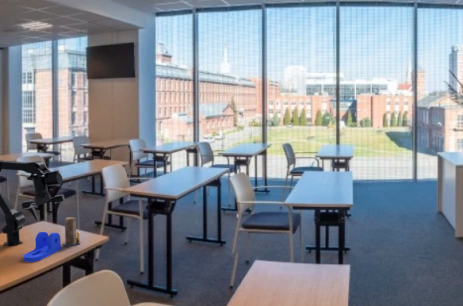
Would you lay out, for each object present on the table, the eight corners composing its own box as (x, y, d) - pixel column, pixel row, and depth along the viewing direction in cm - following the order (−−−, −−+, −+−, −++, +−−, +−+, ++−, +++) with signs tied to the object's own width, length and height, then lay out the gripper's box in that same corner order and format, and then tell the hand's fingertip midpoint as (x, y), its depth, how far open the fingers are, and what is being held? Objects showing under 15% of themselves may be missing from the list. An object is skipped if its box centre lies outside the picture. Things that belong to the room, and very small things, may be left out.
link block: (65, 243, 219) (64, 219, 218) (68, 240, 223) (67, 217, 222) (73, 243, 219) (72, 219, 218) (76, 241, 223) (75, 217, 222)
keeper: (62, 245, 218) (62, 233, 218) (67, 241, 224) (66, 230, 224) (78, 245, 218) (77, 233, 218) (82, 241, 224) (81, 230, 224)
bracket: (45, 248, 215) (44, 230, 214) (60, 249, 213) (60, 231, 212) (19, 261, 198) (18, 241, 197) (36, 263, 196) (35, 242, 195)
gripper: (16, 193, 207) (22, 226, 209) (58, 185, 212) (64, 218, 213) (21, 189, 218) (27, 221, 220) (61, 182, 222) (67, 213, 224)
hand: (46, 218), depth 219 cm, fingers open, 9 cm apart
